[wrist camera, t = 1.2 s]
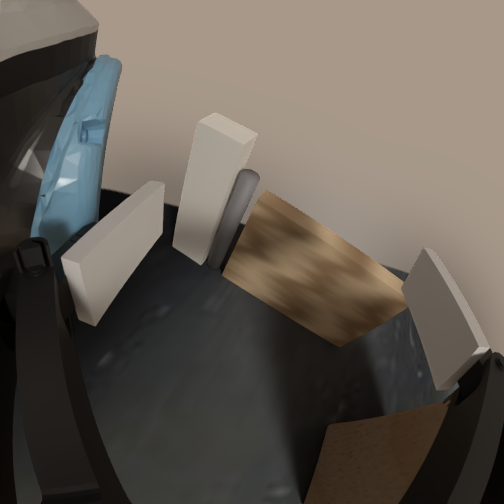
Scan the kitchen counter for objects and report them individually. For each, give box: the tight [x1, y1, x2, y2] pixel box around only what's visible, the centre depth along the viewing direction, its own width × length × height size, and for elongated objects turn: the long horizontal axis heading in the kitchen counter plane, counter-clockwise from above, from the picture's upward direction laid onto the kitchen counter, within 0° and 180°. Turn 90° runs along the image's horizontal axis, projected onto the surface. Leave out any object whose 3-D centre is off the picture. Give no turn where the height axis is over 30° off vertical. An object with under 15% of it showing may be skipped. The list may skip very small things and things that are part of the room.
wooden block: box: [304, 400, 451, 504], centre depth 14 cm, size 10×10×20 cm
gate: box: [222, 190, 408, 348], centre depth 27 cm, size 16×3×12 cm, turn 62°
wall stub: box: [172, 112, 260, 269], centre depth 26 cm, size 6×2×16 cm, turn 62°
